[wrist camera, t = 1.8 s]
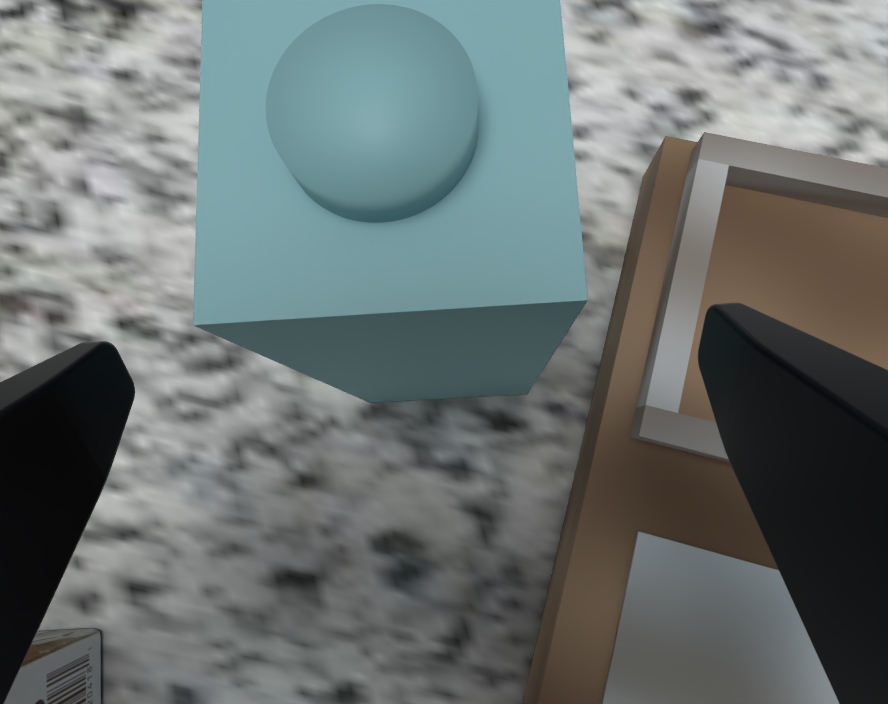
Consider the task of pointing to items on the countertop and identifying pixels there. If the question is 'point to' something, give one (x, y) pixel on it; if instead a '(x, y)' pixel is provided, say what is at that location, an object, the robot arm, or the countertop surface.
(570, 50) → the countertop surface
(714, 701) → the walnut base plate
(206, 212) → the teal pillar
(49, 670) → the coffee box
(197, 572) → the countertop surface
